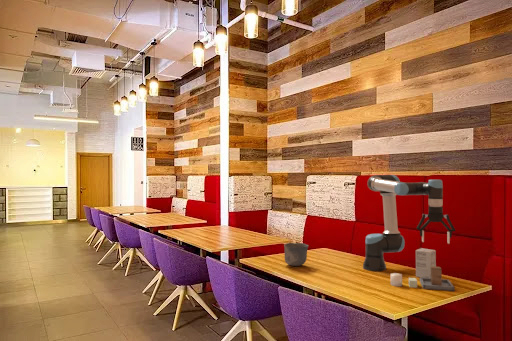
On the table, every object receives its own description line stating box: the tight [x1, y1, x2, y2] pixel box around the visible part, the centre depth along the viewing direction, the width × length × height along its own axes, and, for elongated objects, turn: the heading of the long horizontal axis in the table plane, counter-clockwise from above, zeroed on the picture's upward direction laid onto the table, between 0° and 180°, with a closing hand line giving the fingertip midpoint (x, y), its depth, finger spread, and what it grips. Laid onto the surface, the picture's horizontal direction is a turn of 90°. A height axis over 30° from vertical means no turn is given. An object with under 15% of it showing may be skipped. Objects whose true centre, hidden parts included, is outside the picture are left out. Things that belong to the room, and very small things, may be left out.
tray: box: [419, 277, 456, 292], centre depth 216 cm, size 16×16×2 cm
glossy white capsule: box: [390, 272, 403, 287], centre depth 219 cm, size 6×6×6 cm
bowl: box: [283, 242, 309, 267], centre depth 265 cm, size 18×18×15 cm
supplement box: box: [415, 247, 437, 278], centre depth 236 cm, size 10×9×17 cm
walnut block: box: [431, 266, 443, 286], centre depth 216 cm, size 5×5×10 cm
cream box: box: [408, 277, 418, 288], centre depth 216 cm, size 6×4×4 cm, turn 163°
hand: (435, 242), depth 217 cm, fingers open, 13 cm apart
